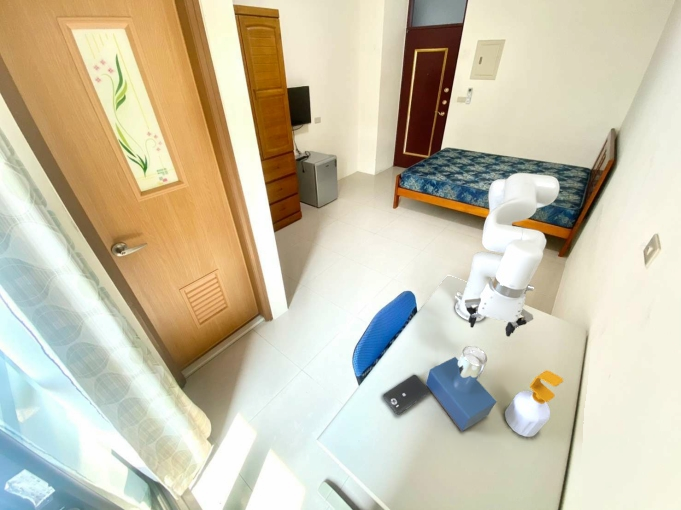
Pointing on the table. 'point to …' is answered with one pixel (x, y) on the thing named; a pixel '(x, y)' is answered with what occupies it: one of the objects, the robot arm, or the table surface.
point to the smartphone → (406, 394)
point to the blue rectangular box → (459, 396)
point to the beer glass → (469, 368)
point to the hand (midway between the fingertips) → (489, 328)
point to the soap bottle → (532, 406)
